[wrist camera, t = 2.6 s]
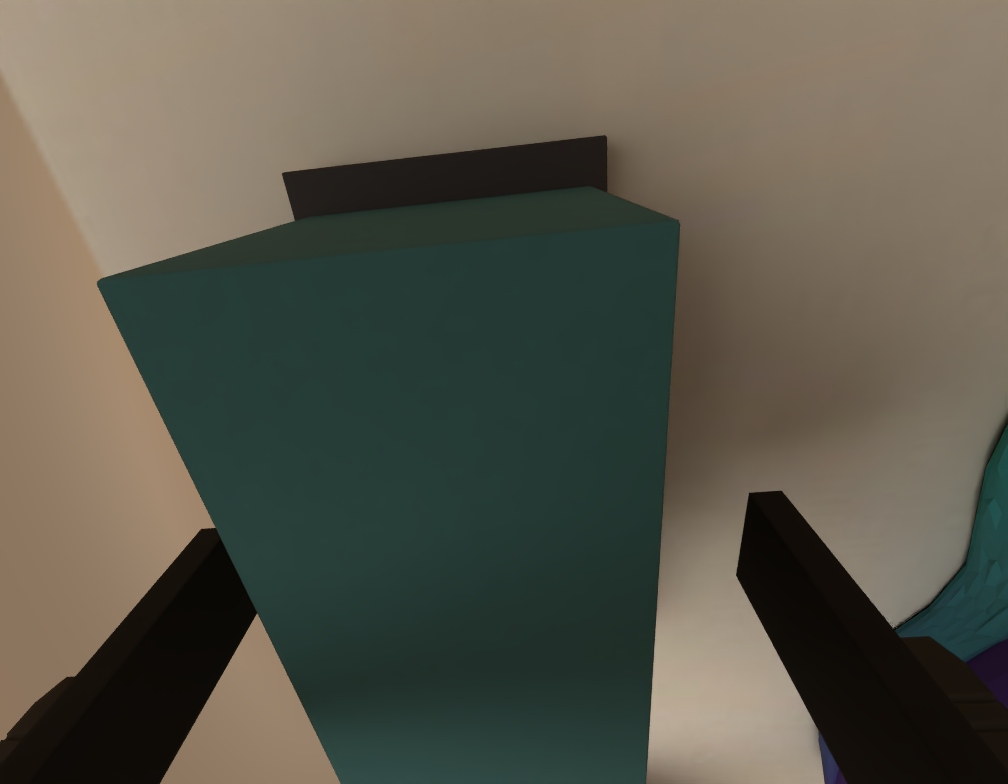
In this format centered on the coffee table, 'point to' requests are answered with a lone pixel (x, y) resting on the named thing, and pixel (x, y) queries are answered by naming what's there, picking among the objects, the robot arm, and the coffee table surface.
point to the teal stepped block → (436, 453)
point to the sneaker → (971, 598)
